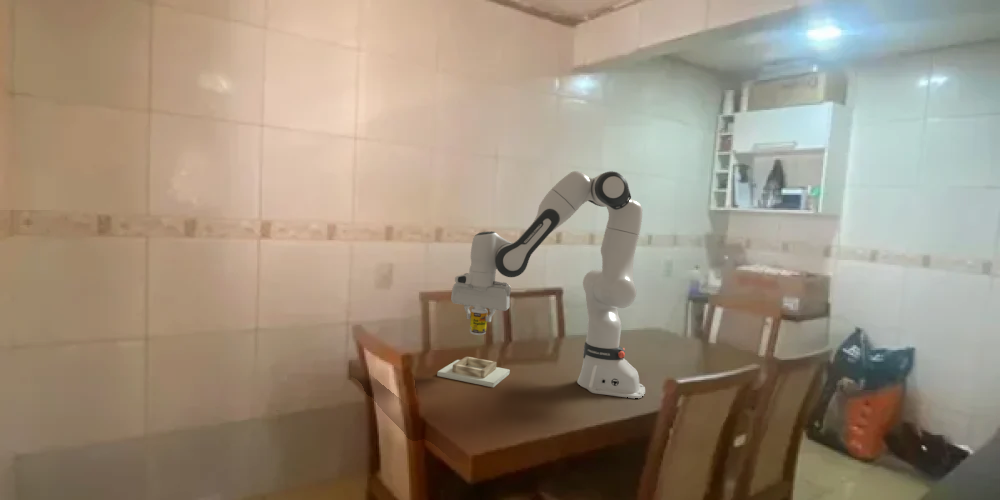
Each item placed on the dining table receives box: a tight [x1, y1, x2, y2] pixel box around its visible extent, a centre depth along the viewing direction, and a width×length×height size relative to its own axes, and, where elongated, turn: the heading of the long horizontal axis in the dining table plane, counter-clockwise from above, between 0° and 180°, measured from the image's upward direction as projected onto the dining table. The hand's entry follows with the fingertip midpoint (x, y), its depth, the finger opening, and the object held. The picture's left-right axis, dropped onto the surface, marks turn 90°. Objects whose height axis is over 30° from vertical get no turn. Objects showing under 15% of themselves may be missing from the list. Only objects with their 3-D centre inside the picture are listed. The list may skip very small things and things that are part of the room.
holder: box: [436, 355, 511, 388], centre depth 182 cm, size 20×16×4 cm
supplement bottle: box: [469, 304, 489, 336], centre depth 181 cm, size 6×6×10 cm
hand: (478, 320), depth 181 cm, fingers closed on supplement bottle, 5 cm apart
